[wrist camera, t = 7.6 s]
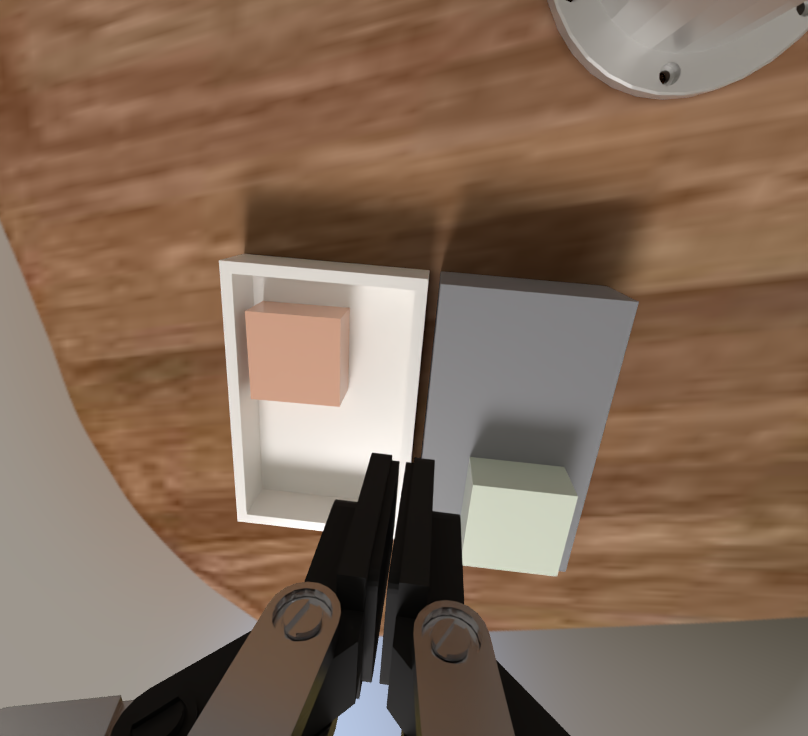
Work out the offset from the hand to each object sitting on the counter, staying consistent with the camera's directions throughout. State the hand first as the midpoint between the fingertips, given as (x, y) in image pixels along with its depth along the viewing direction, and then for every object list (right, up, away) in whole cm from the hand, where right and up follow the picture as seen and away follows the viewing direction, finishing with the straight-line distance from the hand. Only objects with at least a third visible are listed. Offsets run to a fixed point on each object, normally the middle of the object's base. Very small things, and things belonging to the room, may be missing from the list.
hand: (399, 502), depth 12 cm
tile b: (+6, -4, +13) cm, 14 cm away
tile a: (-6, +4, +12) cm, 14 cm away
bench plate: (+6, +1, +15) cm, 16 cm away
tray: (-4, +2, +16) cm, 16 cm away
